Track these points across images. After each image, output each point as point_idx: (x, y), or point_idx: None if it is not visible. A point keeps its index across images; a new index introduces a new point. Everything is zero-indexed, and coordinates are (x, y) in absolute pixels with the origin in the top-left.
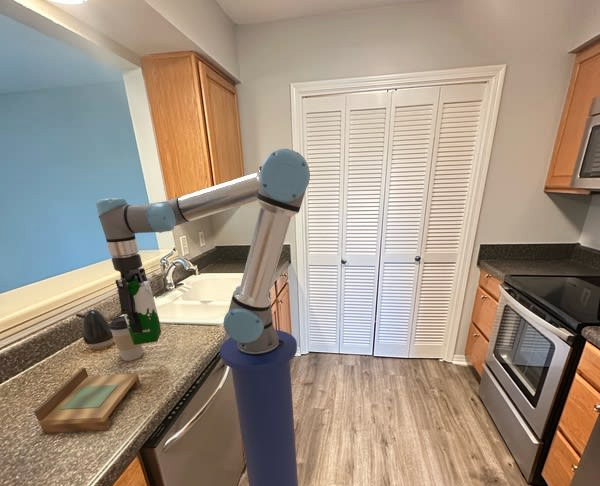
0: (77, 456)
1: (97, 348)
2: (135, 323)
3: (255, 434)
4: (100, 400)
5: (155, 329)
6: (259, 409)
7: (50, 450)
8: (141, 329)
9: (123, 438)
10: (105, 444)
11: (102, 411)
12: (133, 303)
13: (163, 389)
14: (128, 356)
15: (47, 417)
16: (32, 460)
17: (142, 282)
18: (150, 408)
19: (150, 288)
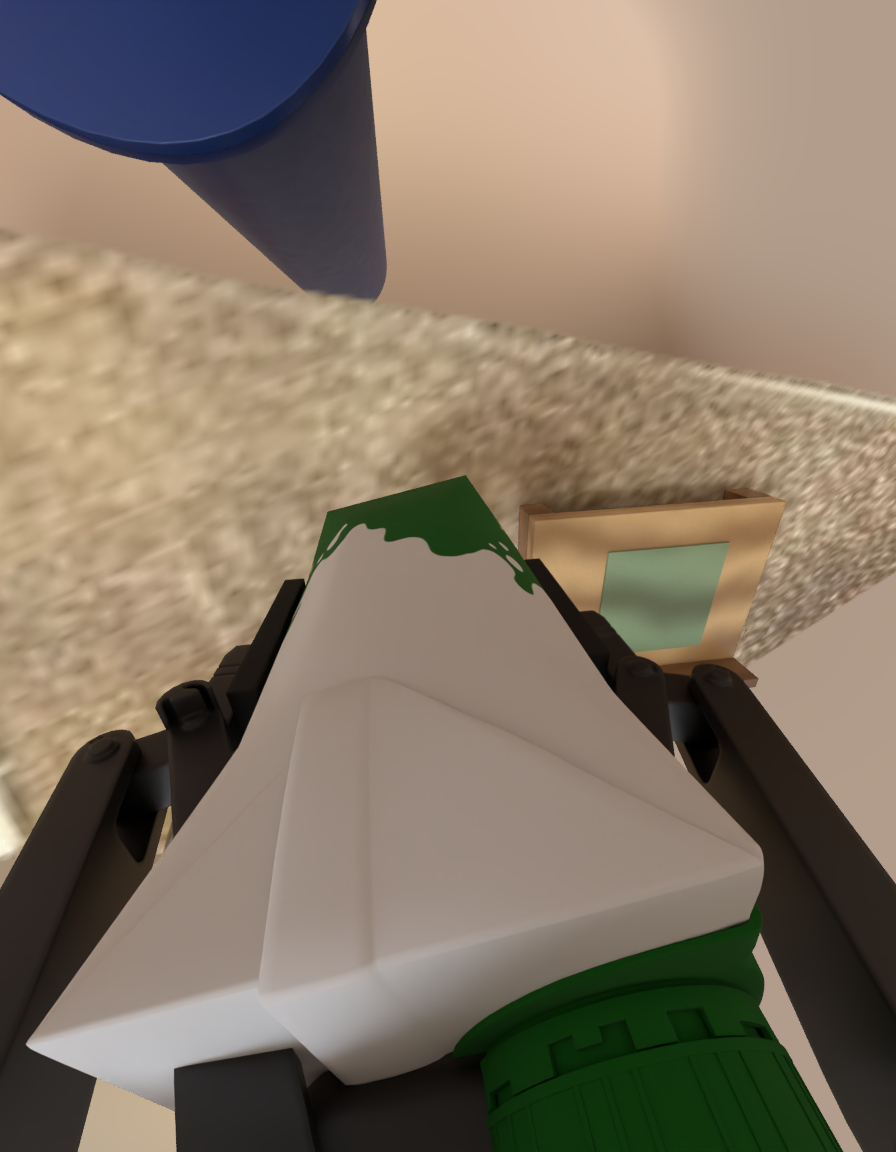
0: (825, 507)
1: None
2: (589, 612)
3: (373, 161)
4: (693, 557)
5: (464, 496)
6: (367, 51)
7: (774, 585)
8: (537, 568)
9: (806, 413)
10: (810, 456)
11: (754, 518)
12: (659, 736)
13: (568, 391)
14: None
15: (724, 653)
16: (792, 602)
17: (264, 1064)
18: (681, 391)
19: (315, 784)
